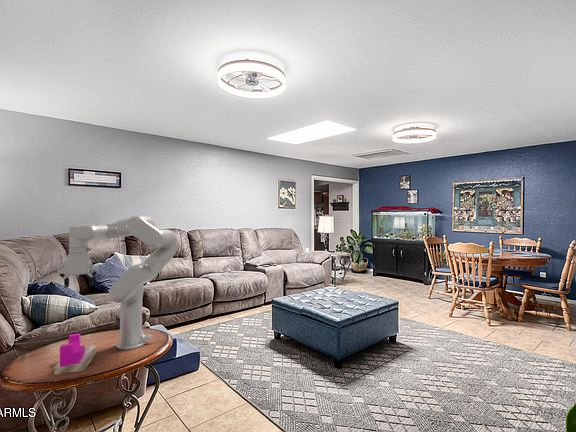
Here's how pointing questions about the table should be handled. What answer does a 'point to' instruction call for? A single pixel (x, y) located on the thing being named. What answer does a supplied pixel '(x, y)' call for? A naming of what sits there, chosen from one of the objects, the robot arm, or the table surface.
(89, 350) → the plinth
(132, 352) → the table surface
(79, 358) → the toy block
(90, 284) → the robot arm
